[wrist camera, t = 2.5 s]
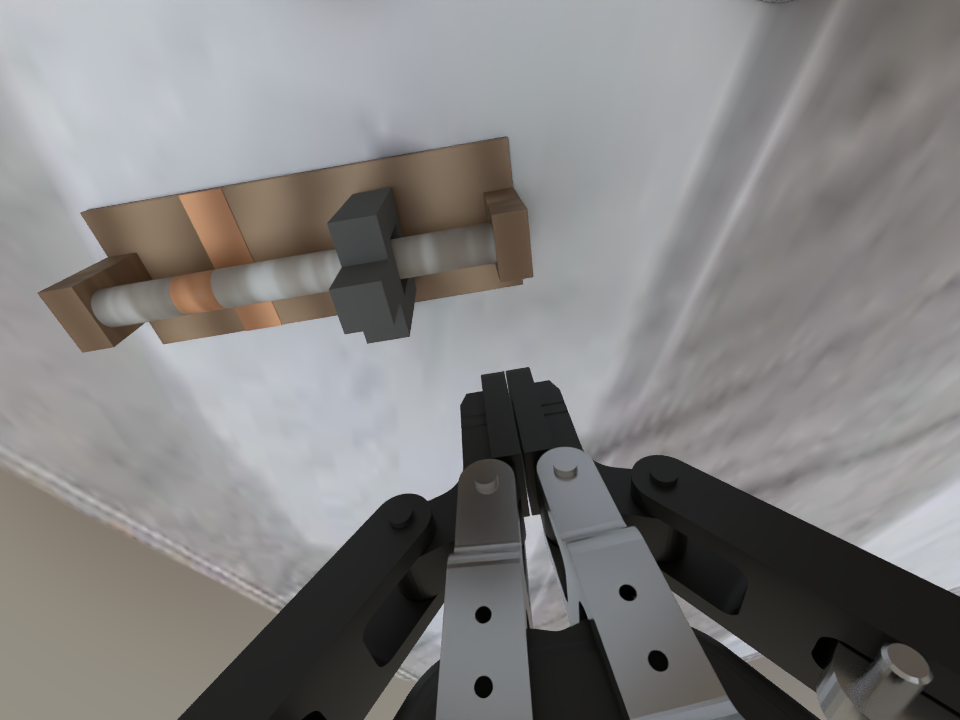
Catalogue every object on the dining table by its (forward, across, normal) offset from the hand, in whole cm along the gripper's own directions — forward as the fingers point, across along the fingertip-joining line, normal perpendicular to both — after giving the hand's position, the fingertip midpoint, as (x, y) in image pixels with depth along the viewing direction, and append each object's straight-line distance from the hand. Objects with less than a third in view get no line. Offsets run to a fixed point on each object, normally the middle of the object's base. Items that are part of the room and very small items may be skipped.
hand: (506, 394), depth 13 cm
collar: (+19, +6, 0) cm, 20 cm away
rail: (+21, +11, 0) cm, 23 cm away
